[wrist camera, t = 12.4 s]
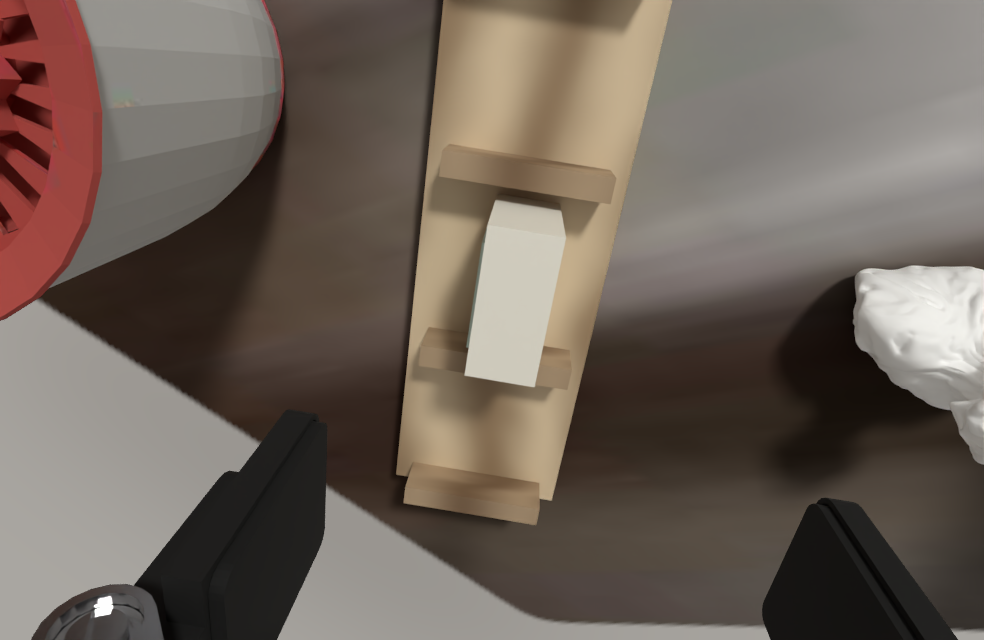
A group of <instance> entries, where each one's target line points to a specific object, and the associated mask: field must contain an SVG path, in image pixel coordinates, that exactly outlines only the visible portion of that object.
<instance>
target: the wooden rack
mask: <svg viewBox="0 0 984 640" xmlns="http://www.w3.org/2000/svg"><path fill="white" fill-rule="evenodd" d="M671 4H672V0H444V1H443V11H442V21H441V31H440V41H439V51H438V61H437V71H436V81H435V91H434V101H433V111H432V121H431V131H430V141H429V151H428V161H427V171H426V181H425V191H424V201H423V211H422V221H421V231H420V241H419V251H418V261H417V271H416V281H415V291H414V301H413V311H412V321H411V331H410V341H409V351H408V361H407V371H406V381H405V391H404V401H403V411H402V420H401V430H400V440H399V450H398V460H397V470H396V475H402V476H408V480H407V484H406V487H405V495H404V503H406V504H412V505H418V506H424V507H430V508H436V509H442V510H448V511H454V512H460V513H466V514H472V515H478V516H484V517H490V518H496V519H502V520H508V521H514V522H520V523H526V524H532V525H536V523H537V518H538V514H539V510H540V501H539V498H540V499H546V500H552V497H553V492H554V488H555V484H556V480H557V476H558V472H559V468H560V463H561V459H562V455H563V451H564V447H565V443H566V439H567V434H568V430H569V426H570V422H571V418H572V414H573V410H574V405H575V401H576V397H577V393H578V389H579V385H580V381H581V376H582V372H583V368H584V364H585V360H586V356H587V352H588V347H589V343H590V339H591V335H592V331H593V327H594V323H595V318H596V314H597V310H598V306H599V302H600V298H601V294H602V289H603V285H604V281H605V277H606V273H607V269H608V265H609V260H610V256H611V252H612V248H613V244H614V240H615V236H616V231H617V227H618V223H619V219H620V215H621V211H622V207H623V202H624V198H625V194H626V190H627V186H628V182H629V178H630V173H631V169H632V165H633V161H634V157H635V153H636V149H637V145H638V140H639V136H640V132H641V128H642V124H643V120H644V116H645V111H646V107H647V103H648V99H649V95H650V91H651V87H652V82H653V78H654V74H655V70H656V66H657V62H658V58H659V53H660V49H661V45H662V41H663V37H664V33H665V29H666V24H667V20H668V16H669V12H670V8H671ZM497 194H503V195H509V196H515V197H521V198H526V199H532V200H538V201H544V202H550V203H556V204H560V207H561V212H562V218H563V224H564V229H565V235H566V241H565V246H564V250H563V255H562V260H561V265H560V269H559V274H558V279H557V283H556V288H555V293H554V298H553V302H552V307H551V312H550V317H549V321H548V326H547V331H546V335H545V340H544V345H543V350H542V354H541V359H540V364H539V369H538V373H537V378H536V383H535V387H529V386H523V385H517V384H511V383H505V382H499V381H494V380H488V379H482V378H476V377H470V376H464V375H465V369H466V362H467V355H468V349H469V348H466V345H467V338H468V332H469V325H470V318H471V312H472V305H473V299H474V292H475V285H476V279H477V272H478V265H479V259H480V252H481V246H482V241H483V238H484V235H485V232H486V228H487V225H488V222H489V219H490V215H491V212H492V209H493V206H494V203H495V200H496V197H497Z"/></svg>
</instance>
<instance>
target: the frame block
mask: <svg viewBox="0 0 984 640" xmlns="http://www.w3.org/2000/svg"><path fill="white" fill-rule="evenodd" d="M565 241H566V235H565V229H564V224H563V218H562V212H561V207H560V204H556V203H550V202H544V201H538V200H532V199H526V198H521V197H515V196H509V195H503V194H497V197H496V200H495V203H494V206H493V209H492V212H491V215H490V219H489V222H488V225H487V228H486V232H485V235H484V238H483V241H482V246H481V252H480V259H479V265H478V272H477V279H476V285H475V292H474V299H473V305H472V312H471V318H470V325H469V332H468V338H467V345H466V348H469V349H468V355H467V362H466V369H465V375H464V376H470V377H476V378H482V379H488V380H494V381H499V382H505V383H511V384H517V385H523V386H529V387H535V383H536V378H537V373H538V369H539V364H540V359H541V354H542V350H543V345H544V340H545V335H546V331H547V326H548V321H549V317H550V312H551V307H552V302H553V298H554V293H555V288H556V283H557V279H558V274H559V269H560V265H561V260H562V255H563V250H564V246H565Z"/></svg>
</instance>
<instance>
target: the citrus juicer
mask: <svg viewBox="0 0 984 640" xmlns="http://www.w3.org/2000/svg"><path fill="white" fill-rule="evenodd" d="M284 89H285V81H284V62H283V56H282V51H281V47H280V43H279V38H278V34H277V30H276V28H275V25H274V23H273V21H272V18H271V16H270V13H269V11H268V8H267V6H266V3H265V1H264V0H0V321H1V320H4V319H6V318H8V317H9V316H11V315H12V314H14V313H16V312H17V311H19V310H21V309H22V308H24V307H25V306H27V305H28V304H30V303H32V302H33V301H35V300H36V299H38V298H40V297H41V296H42V295H43V294H44V293H45V292H46V290H47V289H49V288H51V287H53V286H55V285H58V284H60V283H62V282H64V281H67V280H69V279H71V278H73V277H76V276H78V275H80V274H83V273H85V272H87V271H89V270H92V269H94V268H96V267H98V266H101V265H103V264H105V263H107V262H110V261H112V260H114V259H117V258H119V257H121V256H123V255H126V254H128V253H130V252H132V251H135V250H137V249H139V248H141V247H144V246H146V245H148V244H151V243H153V242H155V241H157V240H160V239H162V238H164V237H166V236H168V235H170V234H171V233H173V232H175V231H177V230H179V229H180V228H182V227H184V226H186V225H188V224H189V223H191V222H193V221H194V220H196V219H197V218H199V217H201V216H202V215H204V214H205V213H207V212H209V211H210V210H212V209H214V208H215V207H216V206H217V205H218V204H219V203H220V202H221V201H222V200H223V199H225V198H226V197H227V196H228V195H229V194H230V193H231V192H232V191H233V190H234V189H235V188H236V187H237V186H238V185H239V184H240V183H241V182H242V181H243V180H244V179H245V178H246V177H247V176H248V174H249V173H250V171H251V170H252V169H253V168H254V167H255V166H256V165H257V164H258V163H259V162H260V160H261V158H262V157H263V155H264V153H265V152H266V150H267V149H268V147H269V145H270V144H271V142H272V140H273V137H274V134H275V131H276V128H277V125H278V122H279V119H280V116H281V112H282V104H283V97H284Z"/></svg>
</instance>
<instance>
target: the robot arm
mask: <svg viewBox="0 0 984 640" xmlns="http://www.w3.org/2000/svg"><path fill="white" fill-rule="evenodd" d="M326 459H327V424H326V423H322V422H319V418H318V415H317V414H314V413H308V412H301V411H295V410H286V411H285V412H284V413H283V415H282V416H281V417H280V419H279V420H278V421H277V423H276V424H275V425H274V427H273V428H272V429H271V431H270V432H269V433H268V435H267V436H266V437H265V438H264V440H263V441H262V442H261V444H260V445H259V447H258V448H257V449H256V451H255V452H254V453H253V454H252V456H251V457H250V458H249V460H248V461H247V462H246V464H245V465H244V466H243V467H242V469H241V470H240V471H239V472H234V471H228V472H226V473H224V474H223V475H222V476H221V477H220V478H219V479H218V480H217V482H216V483H215V484H214V485H213V487H212V488H211V489H210V491H209V492H208V493H207V494H206V495H205V497H204V498H203V499H202V500H201V502H200V503H199V504H198V505H197V507H196V508H195V509H194V511H193V512H192V513H191V515H190V516H189V517H188V518H187V519H186V520H185V522H184V523H183V524H182V526H181V527H180V528H179V529H178V531H177V532H176V533H175V534H174V536H173V537H172V538H171V539H170V541H169V542H168V543H167V544H166V546H165V547H164V548H163V549H162V551H161V552H160V553H159V555H158V556H157V557H156V558H155V559H154V561H153V562H152V563H151V565H150V566H149V567H148V568H147V570H146V571H145V572H144V573H143V575H142V576H141V577H140V578H139V580H138V581H137V582H136V583H135V585H134V586H132V585H128V584H120V585H119V584H117V585H106V586H102V587H98V588H94V589H90V590H88V591H86V592H84V593H81V594H79V595H77V596H75V597H72V598H71V599H69V600H68V601H66V602H65V603H63V604H62V605H60V606H59V607H57V608H56V609H55V610H54V611H53V612H52V613H51V614H50V615H49V616H48V617H47V618H46V619H44V620H43V621H42V622H41V624H40V625H39V627H38V629H37V630H36V632H35V633H34V635H33V637H32V639H31V640H277V638H278V636H279V634H280V632H281V630H282V627H283V625H284V623H285V621H286V619H287V617H288V615H289V613H290V610H291V608H292V606H293V604H294V602H295V600H296V598H297V595H298V593H299V591H300V589H301V587H302V585H303V583H304V580H305V578H306V576H307V574H308V572H309V570H310V568H311V565H312V563H313V561H314V559H315V557H316V555H317V553H318V551H319V548H320V546H321V543H322V540H323V535H324V529H325V497H326ZM762 616H763V621H764V624H765V627H766V629H767V632H768V634H769V637H770V639H771V640H958V639H957V638H956V636H955V635H954V634H953V632H952V631H951V629H950V628H949V627H948V625H947V624H946V623H945V621H944V620H943V618H942V617H941V616H940V614H939V613H938V612H937V610H936V609H935V607H934V606H933V605H932V603H931V602H930V601H929V599H928V598H927V597H926V595H925V594H924V592H923V591H922V590H921V588H920V587H919V586H918V584H917V583H916V581H915V580H914V579H913V577H912V576H911V575H910V573H909V572H908V571H907V569H906V568H905V566H904V565H903V564H902V562H901V561H900V560H899V558H898V557H897V555H896V554H895V553H894V551H893V550H892V549H891V547H890V546H889V545H888V543H887V542H886V540H885V539H884V538H883V536H882V535H881V534H880V532H879V531H878V529H877V528H876V527H875V525H874V524H873V523H872V521H871V520H870V519H869V517H868V516H867V514H866V513H865V512H864V510H863V509H862V508H861V507H860V506H859V505H858V504H856V503H854V502H849V501H842V500H836V499H830V498H821V499H820V500H819V501H818V502H817V503H816V504H811V505H809V506H808V508H807V510H806V512H805V514H804V516H803V518H802V520H801V522H800V525H799V527H798V529H797V531H796V533H795V535H794V538H793V540H792V542H791V544H790V546H789V548H788V550H787V553H786V555H785V557H784V559H783V561H782V563H781V566H780V568H779V570H778V572H777V574H776V576H775V578H774V581H773V583H772V585H771V587H770V589H769V591H768V593H767V596H766V598H765V600H764V603H763V608H762Z"/></svg>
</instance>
